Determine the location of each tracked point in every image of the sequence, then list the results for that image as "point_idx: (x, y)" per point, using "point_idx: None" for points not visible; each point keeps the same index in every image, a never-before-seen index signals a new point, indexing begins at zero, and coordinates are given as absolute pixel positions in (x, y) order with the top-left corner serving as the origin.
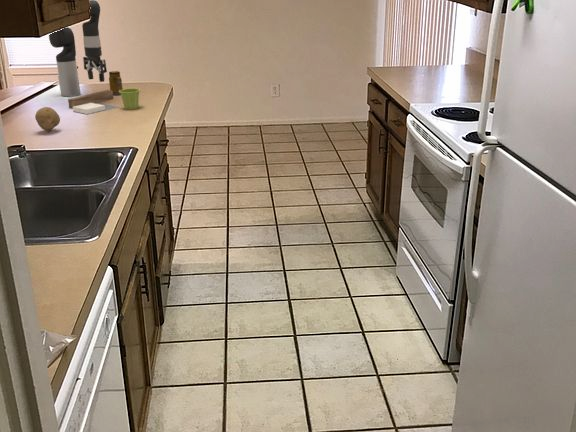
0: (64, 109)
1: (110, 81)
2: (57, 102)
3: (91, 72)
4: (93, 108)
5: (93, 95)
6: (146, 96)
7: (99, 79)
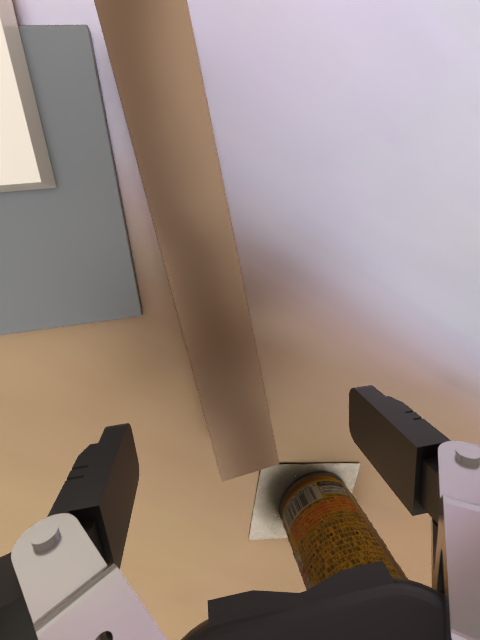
0: (210, 9)
1: (361, 561)
2: (463, 136)
3: (402, 481)
4: None
5: (171, 287)
6: (150, 606)
7: (120, 437)
